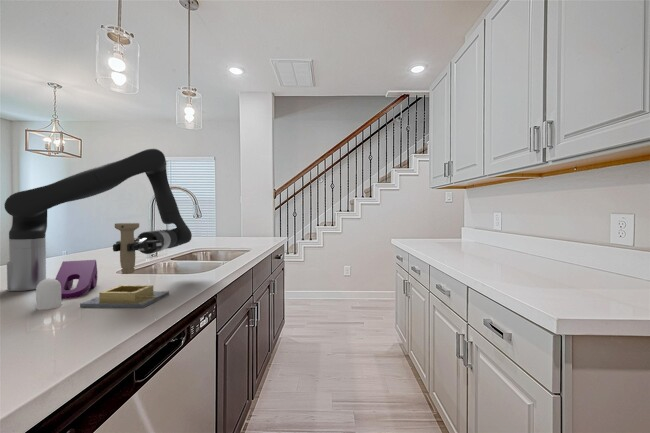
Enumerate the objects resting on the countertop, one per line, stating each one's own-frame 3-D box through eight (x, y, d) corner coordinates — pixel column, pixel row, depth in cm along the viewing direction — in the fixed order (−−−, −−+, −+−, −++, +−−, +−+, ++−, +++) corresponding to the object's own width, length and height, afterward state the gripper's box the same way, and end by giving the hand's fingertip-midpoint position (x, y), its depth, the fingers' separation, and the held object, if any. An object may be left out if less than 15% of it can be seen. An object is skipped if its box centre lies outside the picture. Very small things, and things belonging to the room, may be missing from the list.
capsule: (49, 309, 87) (49, 280, 87) (30, 309, 87) (30, 280, 87) (66, 304, 92) (65, 276, 92) (48, 303, 93) (48, 276, 92)
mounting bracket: (89, 312, 103) (98, 278, 117) (86, 292, 100) (96, 259, 114) (51, 316, 99) (65, 281, 113) (47, 295, 95) (62, 261, 110)
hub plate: (80, 307, 89) (79, 294, 89) (114, 293, 103) (114, 283, 103) (143, 307, 89) (143, 295, 89) (169, 294, 103) (168, 283, 103)
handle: (134, 274, 94) (133, 223, 93) (112, 274, 94) (111, 223, 93) (143, 271, 99) (142, 223, 98) (122, 271, 99) (121, 223, 98)
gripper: (133, 230, 110) (97, 235, 93) (174, 230, 110) (145, 235, 93) (134, 252, 111) (97, 260, 93) (174, 252, 110) (145, 260, 93)
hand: (121, 247), depth 93 cm, fingers closed on handle, 3 cm apart
